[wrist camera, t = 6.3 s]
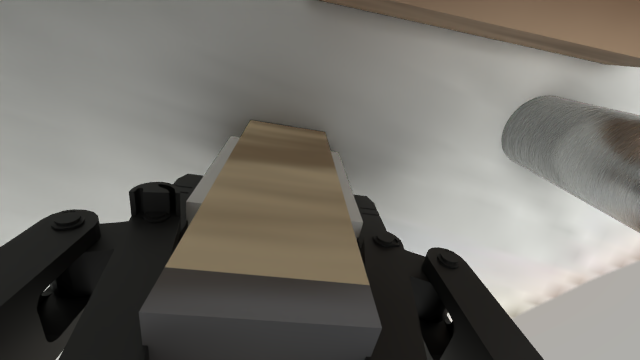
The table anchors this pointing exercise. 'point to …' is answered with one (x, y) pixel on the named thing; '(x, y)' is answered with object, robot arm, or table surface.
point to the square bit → (266, 262)
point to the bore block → (532, 23)
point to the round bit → (581, 152)
